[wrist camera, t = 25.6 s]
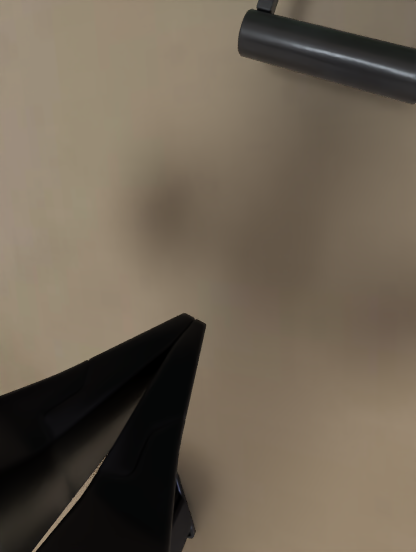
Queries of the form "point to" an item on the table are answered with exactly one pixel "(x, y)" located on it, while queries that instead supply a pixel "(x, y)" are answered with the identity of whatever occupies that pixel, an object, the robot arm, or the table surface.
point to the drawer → (328, 53)
